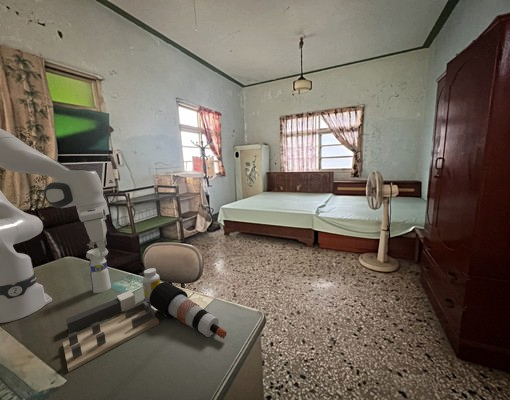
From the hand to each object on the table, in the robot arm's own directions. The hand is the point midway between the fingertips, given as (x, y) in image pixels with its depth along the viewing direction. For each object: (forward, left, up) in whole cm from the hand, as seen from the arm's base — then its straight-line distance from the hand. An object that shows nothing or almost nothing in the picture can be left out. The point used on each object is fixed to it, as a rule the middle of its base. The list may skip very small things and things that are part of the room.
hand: (103, 248), depth 80 cm
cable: (+27, +17, -27) cm, 42 cm away
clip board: (+12, -3, -27) cm, 30 cm away
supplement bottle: (+1, +15, -27) cm, 31 cm away
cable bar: (-2, -3, -27) cm, 27 cm away
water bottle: (-27, +2, -27) cm, 38 cm away
